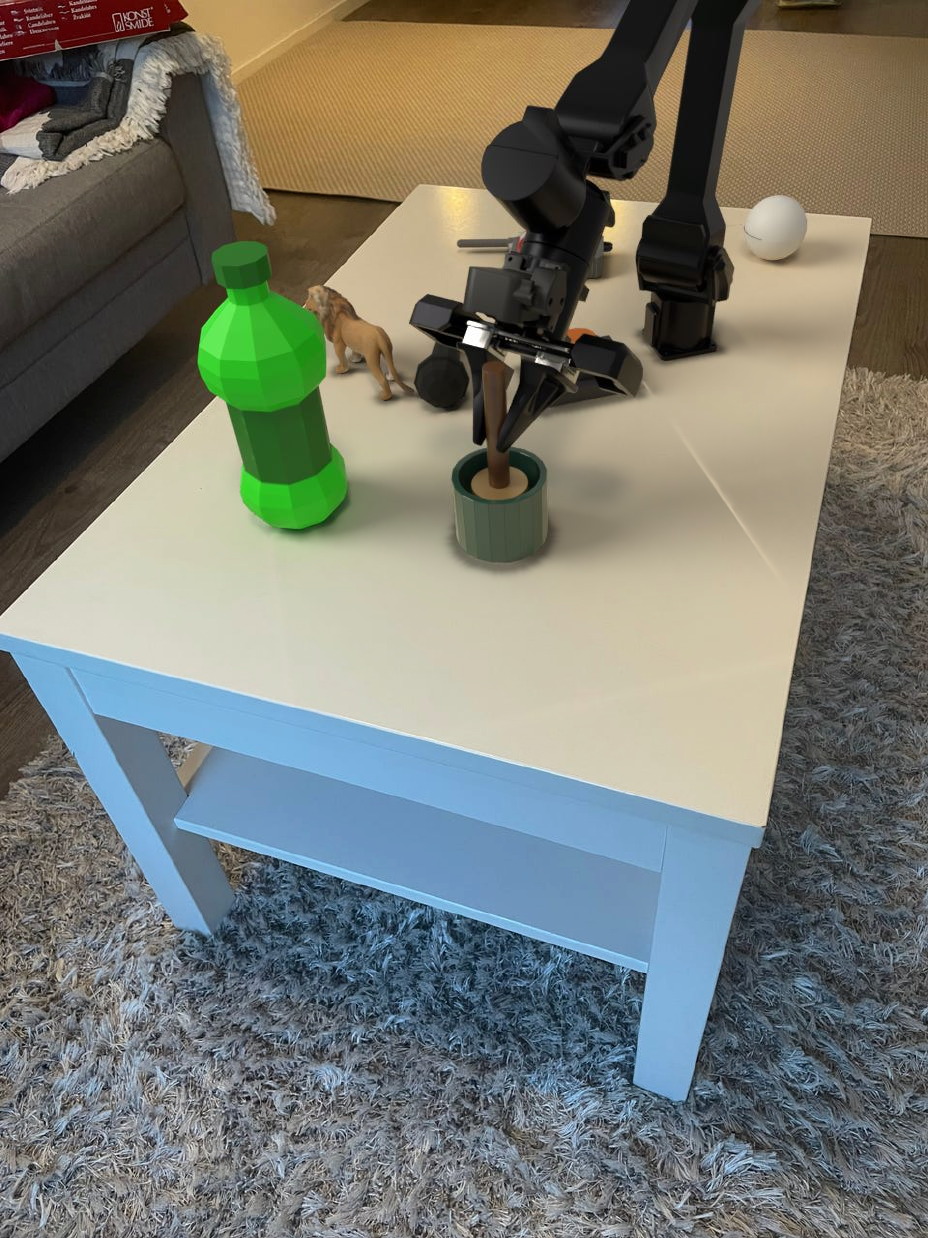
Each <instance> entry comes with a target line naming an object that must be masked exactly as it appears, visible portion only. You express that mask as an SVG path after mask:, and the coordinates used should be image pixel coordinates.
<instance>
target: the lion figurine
mask: <svg viewBox="0 0 928 1238" xmlns="http://www.w3.org/2000/svg"><path fill="white" fill-rule="evenodd" d="M307 291H308V297H307V299H306V300H305V305H304V306H303V308H304V309H306V310H308V311H310V312H311V313H313V314H315V316H316V317H317V319H318V320H319V322H320V323H321V325H322V327H323V330H324V335H325V339H326V340H327V341H329V342H330V343H332V344H333V345H332V346H333V349H334V352H335V356H336V357H337V359H338V361H339V364H338V365H337V366H336V367H335V371H336V374H344V373H346V372H348V371H349V362H348V359H347V356H346V350H347V347H348V349H350V350H351V351H352V353H351V356H350V361H351V362H352V363H359V362H361V361H362V359H363V358H362V355H363V356H364V359H365V361H366V364H367V367H368V369H369V371H370V373H371V374H372V376H373V377H374V378H375V380H376V381H377V382H378V383H379V385H380V386H381V388H382V390H381V391H380V395H379V396H380V399H381V400H382V401H386V400H389V399H391V397H392V395H393V392H392V389H391V386H390V383H389V381H394V382H395V383H396V384H397V385H398V387H400V389H402V390H403V391H404V392H405V393H406V394H409V395H412V394H415V392H416V391H415V389H414V388H412V387H411V386H409V385H407V384H406V383H404V382H402V380H401V379H400V377H399V375H398V373H397V369H396V367H395V365H394V355H393V351H394V346H393V343H392V340H391V338H390V336H389V335H388V333H387V332H386V331H385V329H384V328H383V327H381V326H379V325H374V324H372V323H370V322H368V321H366V320H364V319H363V318H361V317H360V316H359V315H358V314H357V312H356V309H355V308H354V306H353V304H352V303H351V302H350V301H349V300H348V299H347V298H346V297H344V296H343V294H342V293H340V292H338V291H337V290H336V289H335V288H334V289H333V288H331V287H329V286H326V285H324V284H323V285H322V284H318V285H313V286H310V287H308V288H307ZM381 356H382V358H383V360H384V362H385V364H386V365H387V370H388V372H387V373H386V374H385V375H384V373H383V371H382V367H381Z"/></svg>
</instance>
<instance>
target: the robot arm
mask: <svg viewBox="0 0 928 1238" xmlns="http://www.w3.org/2000/svg"><path fill="white" fill-rule="evenodd" d="M762 2H763V0H628V2H627V4H626V6H625V8H624V10H623V12H622V14H621V16H620V17H619V20H618V22H617V25H616V27H615V28H614V31H613V32H612V35H611V37H610V39H609V41H608V43H607V45H606V47H605V49H604V50H603V51H602V54H601V55H600V57H599V58H597V59H595V60H594V61H593V62H591V63H590V64H588V65H586V66H585V67H584V68H582V69H581V70H579V71H577V72H576V73H575V74H574V75H573V77H572V78H571V80H570V82H569V83H568V84H567V86H566V87H565V89H564V91H563V93H562V94H561V96H560V97H559V99H558V100H557V102H556V104H555V106H554V107H553V108H552V107H545V106H538V105H532V104H528V105H527V106H526V107H525V110H524V112H523V115H522V118H521V120H518V121H516V122H513V123H511V124H509V125H507V126H506V127H505V128H503V129H502V130H501V131H499V132H498V134H497V135H496V136H494V138H493V139H492V141H491V142H490V144H488V145H486V147H485V149H484V152H483V154H482V159H481V163H480V174H481V179H482V183H483V185H484V186H485V188H486V190H487V191H488V192H489V193H490V195H491V196H492V197H493V198H494V199H495V200H496V202H498V204H500V205H501V206H502V208H503V209H504V210H505V211H506V212H507V214H509V216H510V217H511V218H512V219H513V220H514V221H515V222H516V223H517V224H518V225H519V226H520V227H521V228H522V229H523V230H524V231H526V230H527V231H526V234H525V237H524V240H523V243H522V245H521V248H520V251H519V252H515V251H511V252H510V254H509V255H508V256H507V258H506V260H505V259H504V264H503V266H502V267H493V266H476V265H475V266H473V265H470V266H469V267H468V270H467V277H466V284H465V290H464V296H463V302H462V301H457V300H455V299H454V300H453V299H449V298H446V297H443V296H439V295H434V294H430V293H427V294H425V295H424V296H423V297H421V298H420V299H419V300H418V301H417V302H416V303H414V306H413V309H412V313H411V315H410V319H409V320H408V324H409V325H410V326H412V327H413V328H415V330H416V329H417V331H419V332H420V333H422V334H423V335H425V336H426V337H428V338H429V339H431V340H432V341H434V343H435V342H437V343H439V344H441V345H443V346H446V347H450V348H453V349H457V350H459V351H460V353H461V354H463V355H464V356H466V359H467V363H468V366H469V368H470V374H471V383H472V443H473V444H474V445H476V446H480V447H481V446H483V445H484V443H485V441H486V427H485V411H484V394H483V378H482V366H483V365H484V364H485V363H487V362H490V361H499V362H502V363H504V364H505V367H506V391H507V390H508V389H509V385H510V383H511V381H512V378H513V375H514V373H515V369H514V368H513V367H511V366H509V365H508V364H507V363H505V360H506V358H507V356H508V353H511V354H515V355H519V356H521V355H522V356H526V357H529V358H533V359H535V362H533V361H529V360H526V359H521V358H520V365H519V367H520V369H519V382H518V385H517V388H516V391H515V393H514V396H513V399H512V400H511V404H510V405H509V408H508V410H507V416H506V418H505V421H504V423H503V426H502V428H501V431H500V434H499V438H498V442H497V445H496V450H497V451H499V452H501V453H505V452H506V451H507V450H508V449H509V448H510V447H513V445H514V444H515V443H516V441H517V440H518V439H519V438H520V437H521V436H522V435H523V434H524V433H525V432H526V430H527V429H528V428H529V427H531V425H532V424H533V423H534V422H535V421H537V419H538V418H539V417H540V416H541V415H542V414H543V413H544V412H545V411H546V410H547V409H549V408H551V407H550V406H551V405H552V404H553V403H554V402H555V401H556V400H558V399H559V398H560V397H561V396H562V395H563V394H564V393H566V392H572V393H576V392H577V390H578V386H576V385H575V383H576V380H577V377H578V374H579V372H580V371H581V372H585V373H588V374H592V375H594V377H595V379H596V381H597V383H598V386H599V388H600V389H602V390H605V391H609V392H612V393H616V394H617V395H620V396H624V397H627V398H631V399H632V398H636V397H637V394H638V391H639V389H640V386H641V384H642V380H643V377H644V366H643V365H642V362H641V360H640V359H639V357H637V356H636V354H635V353H634V352H633V351H632V350H631V348H629V347H628V345H626V343H625V342H622V341H618V340H617V341H616V340H613V339H612V340H609V339H605V338H601V337H602V336H599V337H597V336H598V335H597V336H594V335H590V334H586V333H583V334H582V335H581V336H580V337H579V338H578V339H577V340H576V341H575V344H573V343H571V341H572V339H571V338H570V337H569V336H568V335H567V332H568V330H569V329H570V327H571V324H572V321H573V318H574V316H575V313H576V309H577V307H578V304H579V302H583V303H586V301H587V299H588V295H589V294H590V289H589V287H588V286H587V285H586V281H587V279H588V278H587V276H588V274H589V271H590V268H591V265H592V262H593V260H594V257H595V254H596V251H597V249H598V246H599V243H600V240H601V237H602V236H604V235H603V234H604V232H605V229H606V228H610V229H611V228H614V227H615V225H616V212H615V211H616V210H614V208H613V205H612V202H611V192H610V190H607V189H601V188H600V187H599V186H598V185H597V184H596V183H595V182H593V181H591V180H590V179H587V177H593V178H598V179H604V180H608V181H615V182H625V181H627V180H629V181H631V180H632V179H633V178H634V177H635V176H636V175H637V174H638V173H639V171H640V169H642V168H643V167H644V165H645V164H646V163H647V162H648V160H649V156H650V153H651V152H652V151H653V148H654V145H655V138H654V134H655V132H656V129H657V126H658V121H657V115H656V114H657V113H656V108H655V107H656V106H655V99H654V98H655V96H656V92H657V90H658V87H659V85H660V83H661V80H662V78H663V76H664V74H665V72H666V70H667V69H668V66H669V63H670V61H671V59H672V57H673V55H674V53H675V51H676V49H677V47H678V44H679V42H680V40H681V38H682V36H683V35H684V32H685V30H686V28H687V27H688V26H687V25H688V24H689V22H690V21H691V23H690V31H689V38H688V46H687V53H686V58H685V64H684V65H685V67H684V70H683V71H684V72H683V79H682V85H681V91H680V92H681V93H680V98H679V105H678V112H677V118H676V125H675V131H674V138H673V145H672V152H671V159H670V164H669V172H668V177H667V184H666V190H665V195H664V197H663V198H662V199H661V201H660V202H659V203H658V205H657V206H656V207H655V209H654V210H653V211H652V213H651V214H648V215H646V217H645V218H644V220H643V222H642V224H641V237H640V238H639V239H640V240H639V242H638V244H637V247H636V251H635V268H636V276H637V283H638V290H639V291H641V292H649V293H650V301H647V302H646V304H645V310H644V311H645V312H644V325H643V328H642V330H641V334H642V336H643V338H644V340H645V341H646V342H647V344H648V345H649V346H650V348H652V350H653V351H654V352H655V354H656V355H657V356H658V357H659V359H660V360H662V361H669V360H673V359H674V360H675V359H678V358H684V357H689V356H695V355H701V354H706V353H711V352H716V351H718V348H719V347H718V346H719V345H718V343H716V341H715V340H714V338H713V331H714V323H715V316H716V308H717V303H720V302H725V301H728V299H729V298H730V291H731V285H732V284H733V281H734V273H735V266H734V264H733V262H732V259H731V257H730V255H729V253H728V252H727V249H726V247H725V246H724V245H725V237H726V232H727V231H726V230H727V226H726V225H727V224H726V221H725V217H724V216H723V213H722V210H721V208H720V204H719V203H718V200H717V197H716V193H717V187H718V183H719V182H718V181H719V177H720V170H721V164H722V159H723V154H724V147H725V142H726V136H727V132H728V131H727V130H728V125H729V119H730V114H731V110H732V109H731V108H732V104H733V97H734V91H735V87H736V86H735V85H736V81H737V75H738V69H739V64H740V58H741V52H742V46H743V41H744V35H745V30H746V25H747V22H749V20H750V19H751V17H752V16H753V14H754V13H755V11H756V10H757V9H758V7H759V6H760V5H761V3H762ZM478 313H479V314H483V315H484V316H486V318H490V319H493V320H494V322H492V321H487V320H484V319H483V318H482V317H481V316H480V315H478ZM540 348H541V349H540ZM542 348H543V349H542ZM544 348H545V350H544Z"/></svg>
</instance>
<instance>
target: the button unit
mask: <svg viewBox="0 0 928 1238" xmlns="http://www.w3.org/2000/svg"><path fill="white" fill-rule="evenodd" d="M595 335H596V336H597V337H601V338H605V339H609V340H613V339H612V337H611V336H610V335H609V334H608V335H602V336H599V335H597V334H595ZM540 349H541V347H540ZM542 349H543V348H542ZM544 350H545V348H544ZM521 359H526V360H529V361H533V362H535V359H533V358H529V357H526V356H522V355H520V360H521ZM575 385H576V386H578V390H577V392H576V393H572V392H566V393H564V394H563V395H562V396H561V397H560V398H559V399H558V400H556V401H555V402H554V403H553V404H552V405H551V406H550V407H549V408H553V407H557V406H564V405H568V404H574V403H579V402H584V401H590V400H596V399H602V398H605V397H610V396H617V395H618V394H616V393H612V392H609V391H605V390H602V389H600V388H599V386H598V383H597V381H596V379H595V377H594V375H592V374H588V373H585V372H581V371H580V372H579V374H578V377H577V380H576V383H575Z"/></svg>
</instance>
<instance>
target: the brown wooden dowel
mask: <svg viewBox="0 0 928 1238" xmlns="http://www.w3.org/2000/svg"><path fill="white" fill-rule="evenodd" d="M504 363H505V362H504ZM504 363H502V362H499V361H490V362H487V363H485V364H484V365H483V366H482V378H483V394H484V411H485V427H486V439H485V441H486V448H487V460H488V468H485V469H483V470H481V471H480V472H478V473H477V474H476V475H475V476H474V477H473V479H472V482H471V489H472V495H474V496H476V497H478V498H483V499H488V500H505V499H510V498H515V497H518V496H520V495H522V494H525V493H527V492H528V479H527V477H526V475H525V474H524V473H523V472H522V471H520V470H519V469H517V468H514V467H510V465H509V449H508V450H507V451H506V452H505V453H501V452H499V451H497V450H496V445H497V442H498V438H499V434H500V431H501V428H502V426H503V423H504V421H505V418H506V416H507V413H508V393H507V391H506V367H505V364H506V363H505V364H504Z"/></svg>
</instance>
